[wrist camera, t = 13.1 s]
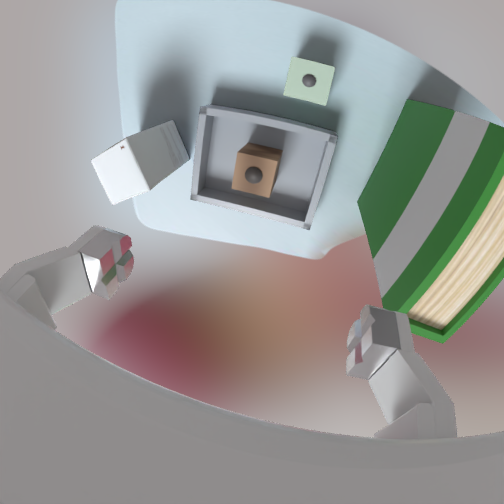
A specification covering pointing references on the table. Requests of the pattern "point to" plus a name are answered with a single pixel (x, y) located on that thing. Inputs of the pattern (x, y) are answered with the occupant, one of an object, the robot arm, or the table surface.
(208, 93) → the table surface
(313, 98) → the sage block
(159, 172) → the supplement box
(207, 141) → the tray
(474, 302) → the hardback book
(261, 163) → the walnut block
